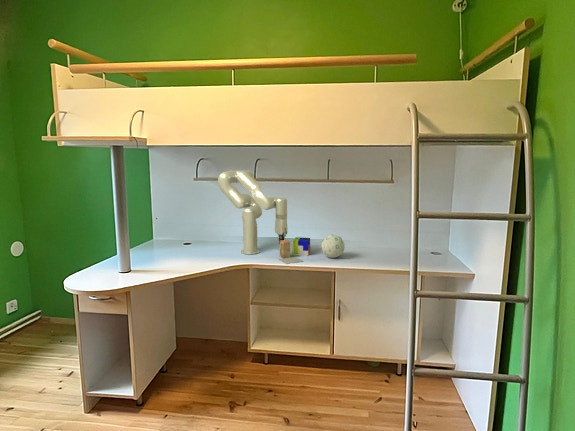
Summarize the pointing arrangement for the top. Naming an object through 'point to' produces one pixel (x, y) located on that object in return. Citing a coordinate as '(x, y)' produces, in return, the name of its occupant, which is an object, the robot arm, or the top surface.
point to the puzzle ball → (332, 246)
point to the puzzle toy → (301, 246)
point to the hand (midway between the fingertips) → (281, 244)
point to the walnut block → (284, 249)
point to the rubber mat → (291, 260)
